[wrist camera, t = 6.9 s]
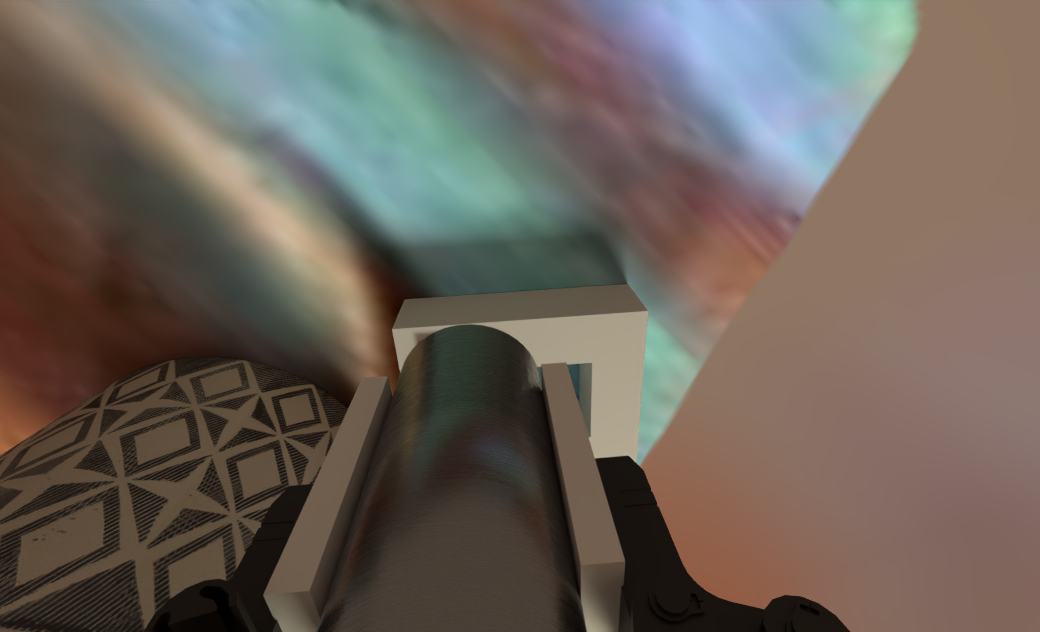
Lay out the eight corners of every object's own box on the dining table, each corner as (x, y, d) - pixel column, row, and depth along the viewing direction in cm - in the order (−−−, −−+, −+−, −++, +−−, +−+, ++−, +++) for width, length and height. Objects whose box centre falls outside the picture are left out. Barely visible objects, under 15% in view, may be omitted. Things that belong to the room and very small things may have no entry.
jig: (404, 299, 35) (390, 333, 29) (627, 283, 35) (651, 314, 30) (429, 444, 40) (420, 493, 35) (619, 429, 41) (638, 475, 36)
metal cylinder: (386, 329, 14) (39, 1103, 3) (539, 317, 14) (703, 1017, 3) (410, 448, 16) (247, 1172, 5) (543, 436, 16) (655, 1117, 5)
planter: (214, 256, 32) (-222, 503, 12) (468, 462, 42) (450, 790, 22) (27, 454, 38) (-468, 833, 18) (285, 595, 48) (140, 947, 28)
